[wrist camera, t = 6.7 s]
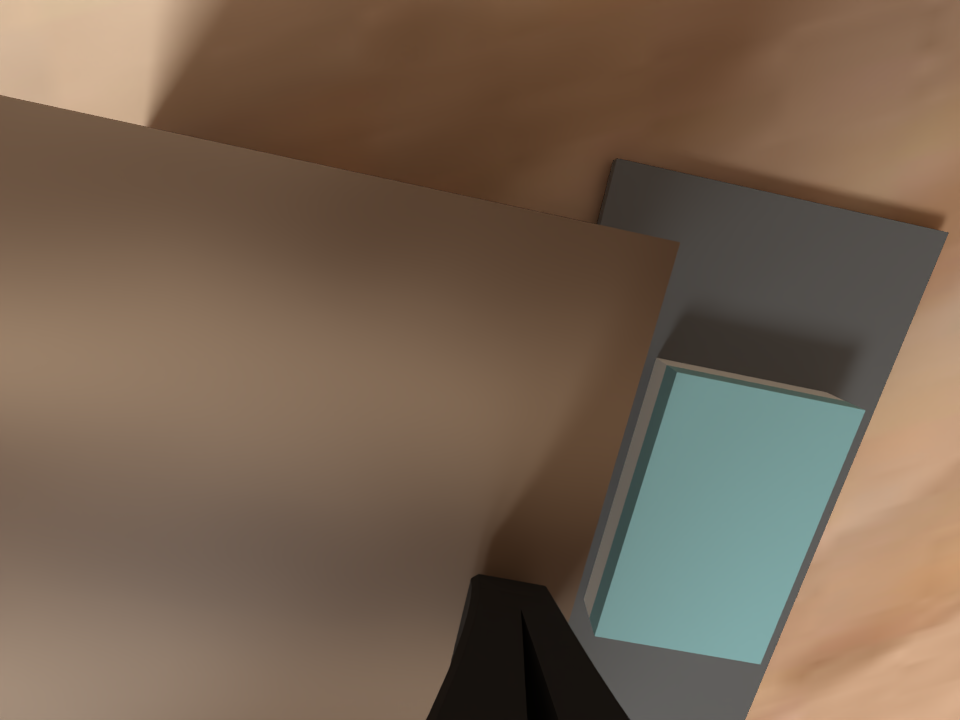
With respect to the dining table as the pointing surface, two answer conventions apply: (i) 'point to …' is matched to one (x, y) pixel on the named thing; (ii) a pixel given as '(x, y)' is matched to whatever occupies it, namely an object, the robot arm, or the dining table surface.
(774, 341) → the mat
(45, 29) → the dining table surface
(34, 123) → the riser
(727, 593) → the teal and white sponge
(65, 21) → the dining table surface
